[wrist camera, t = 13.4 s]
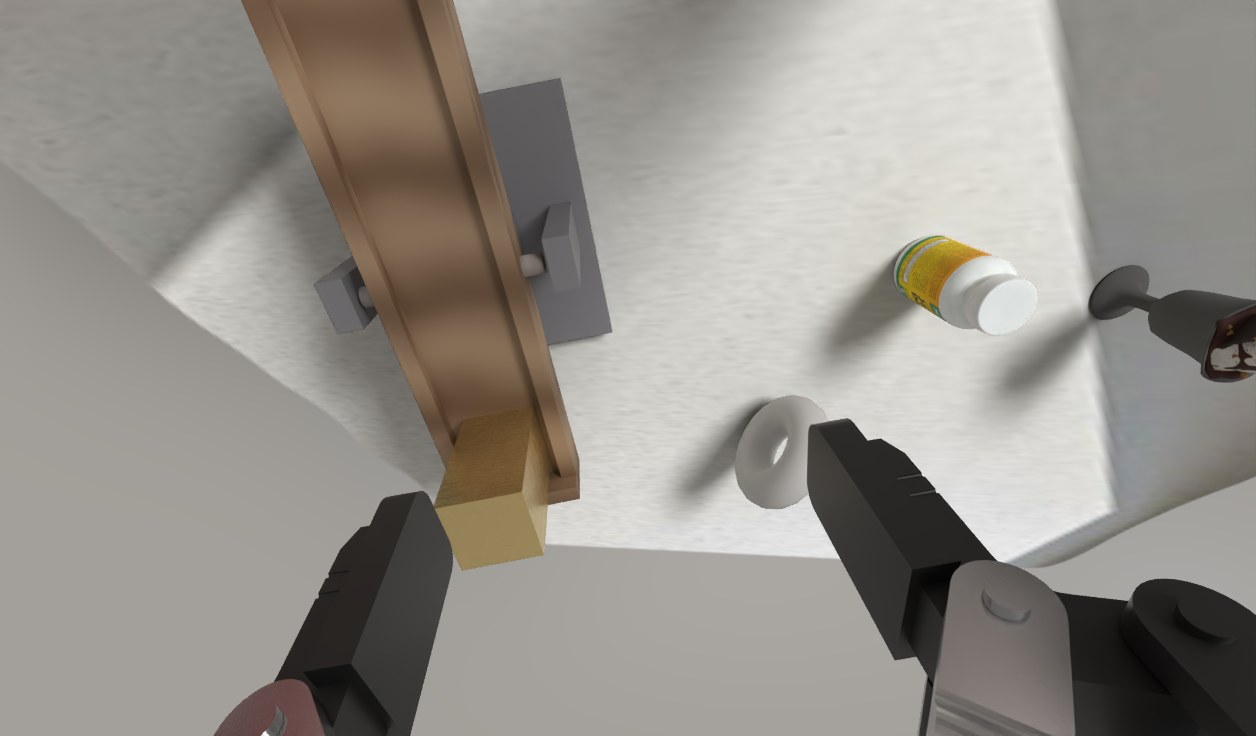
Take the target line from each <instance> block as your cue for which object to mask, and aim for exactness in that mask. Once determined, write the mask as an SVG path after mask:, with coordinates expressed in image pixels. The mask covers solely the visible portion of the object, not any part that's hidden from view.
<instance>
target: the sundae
mask: <svg viewBox="0 0 1256 736" xmlns="http://www.w3.org/2000/svg"><path fill="white" fill-rule="evenodd" d="M1148 285H1149V275H1148V273H1147V271H1146V270H1145V269H1144V268H1142V267H1140V266H1135V265H1131V266H1126V267H1122V268H1120V269H1117V270H1115V271H1114V272H1112V273H1111V274H1109V275H1108V276H1106V277H1105V278H1104V279H1103V280H1102V281H1101V282H1100V284H1099V285H1098V286H1097V287H1096V289H1095V291H1094V293H1093V295H1092V298H1091V310H1092V312H1093V314H1094V315H1095V316H1096V317H1098V318H1100V319H1113V318H1117V317H1119V316H1122V315H1124V314H1126V313H1128V312H1129V311H1131V310H1132V309H1134V308H1139V309H1142V310H1144V311H1147V312H1149V315H1148V322H1149V326H1150V330H1151V332H1152V333H1154V334H1155V335H1156V336H1158V337H1159V338H1161V339H1162V340H1164V341H1165V342H1167V343H1168V344H1170V345H1172V346H1174V347H1175V348H1177V349H1179V350H1181V351H1182V352H1184V353H1186V354H1188V355H1189V356H1191V357H1192V358H1194V359H1195V360H1196V361H1198V362H1199V363H1200V364H1201V375H1202V376H1203V377H1204V378H1206V379H1208V380H1211V381H1214V382H1236V381H1240V380H1243V379H1246V378H1248V377H1250V376H1252V375H1253V374H1255V373H1256V300H1250V299H1242V298H1237V297H1232V296H1227V295H1222V294H1216V293H1211V292H1204V291H1195V290H1183V291H1179V292H1176V293H1173V294H1169V295H1167V296H1165V297H1163V298H1161V299H1158V298H1155V297H1152V296H1149V295H1147V294H1146V292H1147V290H1148Z"/></svg>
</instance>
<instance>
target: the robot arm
mask: <svg viewBox="0 0 1256 736" xmlns="http://www.w3.org/2000/svg"><path fill="white" fill-rule="evenodd" d="M807 487H808V493H809V497H810V500H811V503H812V506H813V508H814V510H815V512H816V514H817V516H818V518H819V520H820V521H821V523H822V525H823V527H824V529H825V531H826V533H827V534H828V536H829V538H830V540H831V542H832V544H833V546H834V548H835V549H836V551H837V553H838V555H839V557H840V559H841V561H842V563H843V564H844V566H845V568H846V570H847V572H848V574H849V576H850V577H851V579H852V581H853V583H854V585H855V587H856V589H857V591H858V592H859V594H860V596H861V598H862V600H863V602H864V604H865V606H866V607H867V609H868V611H869V613H870V615H871V617H872V619H873V620H874V622H875V624H876V626H877V628H878V630H879V632H880V633H881V635H882V637H883V639H884V641H885V643H886V645H887V646H888V648H889V650H890V652H891V654H892V656H893V658H894V660H900V659H906V658H911V657H917V658H918V660H919V661H920V663H921V665H922V666H923V669H924V670H925V672H926V674H927V677H926V681H925V686H924V693H923V700H922V707H921V713H920V719H919V726H918V733H917V736H1256V615H1255V614H1254V613H1252V612H1251V611H1250V610H1248V609H1247V608H1245V607H1244V606H1242V605H1241V604H1239V603H1238V602H1236V601H1234V600H1232V599H1230V598H1229V597H1227V596H1225V595H1223V594H1220V593H1218V592H1216V591H1214V590H1212V589H1209V588H1206V587H1204V586H1201V585H1198V584H1194V583H1190V582H1186V581H1181V580H1175V579H1154V580H1149V581H1146V582H1144V583H1142V584H1140V585H1139V586H1138V587H1137V588H1136V589H1135V591H1134V592H1133V594H1132V596H1131V598H1130V600H1129V601H1123V600H1114V599H1106V598H1097V597H1089V596H1080V595H1071V594H1065V593H1059V592H1055V591H1053V590H1052V589H1050V588H1049V587H1048V586H1047V585H1046V584H1045V583H1044V582H1042V581H1041V580H1039V579H1038V578H1037V577H1035V576H1034V575H1032V574H1030V573H1028V572H1027V571H1025V570H1023V569H1020V568H1018V567H1016V566H1013V565H1010V564H1007V563H1003V562H998V561H997V560H996V559H995V558H994V557H993V556H992V555H991V554H990V553H989V551H988V550H987V549H986V548H985V547H984V546H983V544H982V543H981V542H980V541H979V540H978V538H977V537H976V536H975V535H974V534H973V533H972V531H971V530H970V529H969V528H968V527H967V526H966V524H965V523H964V522H963V521H962V520H961V518H960V517H959V516H958V515H957V514H956V513H955V511H954V510H953V509H952V508H951V507H950V506H949V504H948V503H947V502H946V501H945V500H944V499H943V497H942V496H941V495H940V494H939V493H936V491H935V488H934V487H933V486H932V484H931V483H930V482H929V481H928V480H927V479H926V477H923V476H922V473H921V471H920V470H919V469H918V468H917V467H916V466H915V464H914V463H913V462H912V461H911V460H910V459H909V457H908V456H907V455H906V454H905V453H904V452H902V451H900V450H899V449H897V448H895V447H894V446H892V445H891V444H889V443H887V442H886V441H884V440H882V439H875V440H869V441H867V439H866V438H865V437H864V436H863V434H862V433H861V432H860V430H859V429H858V428H857V427H856V425H855V424H854V423H853V422H852V421H851V420H850V419H848V418H846V419H840V420H834V421H829V422H823V423H817V424H812V425H810V427H809V430H808V454H807ZM452 566H453V553H452V547H451V543H450V540H449V538H448V536H447V534H446V532H445V530H444V527H443V525H442V523H441V521H440V519H439V517H438V515H437V513H436V511H435V509H434V506H433V504H432V502H431V500H430V498H429V496H428V495H427V494H426V493H425V492H423V491H419V492H413V493H407V494H401V495H396V496H390V497H386V498H384V499H383V500H382V501H381V503H380V505H379V507H378V509H377V511H376V513H375V516H374V518H373V520H372V522H371V524H370V526H366V527H361V528H360V529H359V530H358V531H357V532H356V533H355V534H354V535H353V536H352V538H350V540H349V541H348V542H347V543H346V544H345V545H344V546H343V547H342V548H341V549H340V551H339V553H338V555H337V557H336V559H335V562H334V563H333V565H332V568H331V569H330V571H329V573H328V574H329V578H326V579H325V582H324V583H323V585H322V588H321V589H320V591H319V598H318V599H316V600H315V601H314V603H313V606H312V608H311V609H310V611H309V613H308V615H307V617H306V620H305V621H304V624H303V625H302V628H301V629H300V632H299V634H298V636H297V638H296V640H295V642H294V644H293V646H292V648H291V650H290V652H289V654H288V656H287V658H286V660H285V662H284V664H283V666H282V668H281V670H280V672H279V674H278V676H277V678H276V679H275V681H274V683H271V684H269V685H266V686H264V687H262V688H261V689H259V690H257V691H256V692H254V693H253V694H251V695H250V696H249V697H248V698H246V699H245V700H243V701H242V702H241V703H240V704H239V705H238V706H237V707H236V708H235V709H234V710H233V711H232V712H231V713H230V714H229V715H228V716H227V717H226V719H225V720H224V721H223V722H222V724H221V725H220V726H219V728H218V730H217V731H216V733H215V734H214V736H410V734H411V730H412V726H413V722H414V718H415V714H416V710H417V706H418V702H419V698H420V695H421V691H422V686H423V683H424V679H425V675H426V671H427V667H428V663H429V659H430V655H431V651H432V647H433V643H434V639H435V635H436V631H437V627H438V623H439V619H440V616H441V612H442V608H443V604H444V600H445V596H446V592H447V588H448V584H449V580H450V577H451V572H452Z"/></svg>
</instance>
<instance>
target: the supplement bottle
mask: <svg viewBox="0 0 1256 736" xmlns="http://www.w3.org/2000/svg"><path fill="white" fill-rule="evenodd" d="M894 282H895V285H896V287H897V289H898V290H899V291H900V292H901V293H902V294H903V295H905V296H906V297H908V298H909V299H911V300H913V301H914V302H916V303H917V304H919V305H921V306H922V307H924V308H925V309H927V310H928V311H930V312H932V313H933V314H935V315H936V316H938V317H940V318H941V319H943V320H944V321H946V322H948V323H949V324H951V325H953V326H955V327H958V328H962V329H975V328H976V329H978V330H980V331H982V332H984V333H986V334H988V335H993V336H1000V335H1005V334H1008V333H1011V332H1013V331H1015V330H1016V329H1018V328H1019V327H1021V326H1022V325H1023V324H1024V323H1025V322H1026V321H1027V320H1028V319H1029V318H1030V316H1031V315H1032V313H1033V311H1034V309H1035V307H1036V304H1037V291H1036V289H1035V287H1034V286H1033V284H1032V283H1030V282H1029V281H1027V280H1025V279H1023V278H1021V277H1019V276H1018V274H1017V272H1016V270H1015V268H1014V267H1013V266H1012V265H1011V264H1010V263H1009V262H1008V261H1006V260H1005V259H1003V258H1000V257H998V256H995V255H992V254H990V253H987V252H984V251H982V250H979V249H977V248H974V247H972V246H969V245H967V244H964V243H962V242H959V241H957V240H954V239H951V238H949V237H946V236H943V235H929V236H926V237H923V238H920V239H918V240H916V241H914V242H912V243H911V244H910V245H908V246H907V247H906V248H905V249H904V250H903V252H902V253H901V254H900V256H899V258H898V259H897V261H896V264H895V267H894Z"/></svg>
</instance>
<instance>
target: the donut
mask: <svg viewBox="0 0 1256 736" xmlns="http://www.w3.org/2000/svg"><path fill="white" fill-rule="evenodd" d="M823 422H829V421H828V419H827V417H826V415H825V413H824V411H823V410H822V409H821V408H820V407H819V406H818V405H816V404H815V403H814V402H813V401H811V400H810V399H808V398H805V397H800V396H794V395H790V396H785V397H781V398H777V399H775V400H773V401H772V402H770V403H768V404H767V405H765V406H764V407H762V408H761V409H760V410H759V411H758V412H757V413H756V414H755V415H754V416H753V418H752V419H751V421H750V422H749V424H748V425H747V427H746V428H745V430H744V432H743V434H742V437H741V439H740V441H739V444H738V448H737V452H736V456H735V473H736V477H737V482H738V486H739V487H740V489H741V490H742V492H743V493H744V495H745V496H746V498H747V499H748V500H750V501H751V502H753V503H754V504H756V505H758V506H760V507H761V508H765V509H783V508H786V507H788V506H791V505H793V504H796V503H798V502H799V501H800V500H801V499H803V498H804V497H805V496H806V495H807V494H809V493H808V487H807V454H808V430H809V427H810V425H812V424H817V423H823ZM787 437H788V440H787V444H786V447H785V450H784V452H783V454H782V456H781V457H780V459H779V460H778V461H777V463H775V464H774V465H773V462H774V458H775V454H776V452H777V450H778V447H779V446H780V445H781V443H782V442H783V440H785V439H786V438H787Z"/></svg>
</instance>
